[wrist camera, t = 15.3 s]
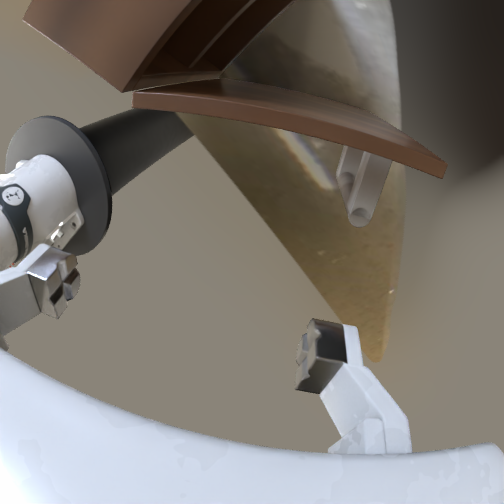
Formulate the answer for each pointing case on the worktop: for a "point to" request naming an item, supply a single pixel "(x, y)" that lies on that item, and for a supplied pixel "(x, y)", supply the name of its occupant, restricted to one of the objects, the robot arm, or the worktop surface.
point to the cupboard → (153, 36)
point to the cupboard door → (307, 131)
